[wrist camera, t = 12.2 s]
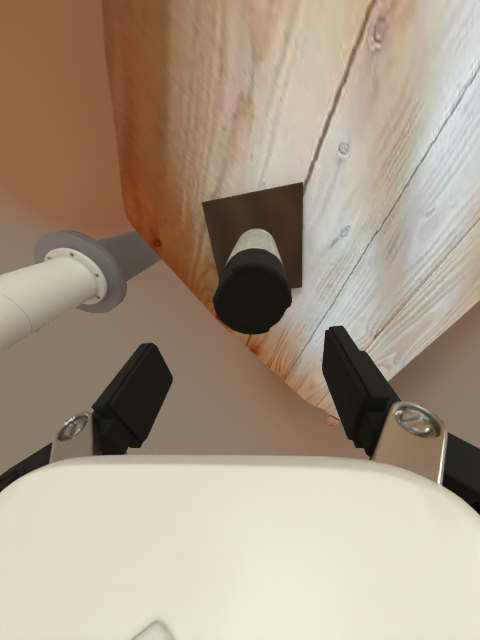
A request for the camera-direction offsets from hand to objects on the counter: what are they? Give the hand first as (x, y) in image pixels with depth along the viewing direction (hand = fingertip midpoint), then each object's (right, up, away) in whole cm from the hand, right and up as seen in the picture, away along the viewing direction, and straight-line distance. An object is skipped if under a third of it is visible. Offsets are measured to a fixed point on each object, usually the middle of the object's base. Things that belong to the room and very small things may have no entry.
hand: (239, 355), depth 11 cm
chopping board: (+3, +15, +23) cm, 27 cm away
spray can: (+3, +14, +22) cm, 26 cm away
